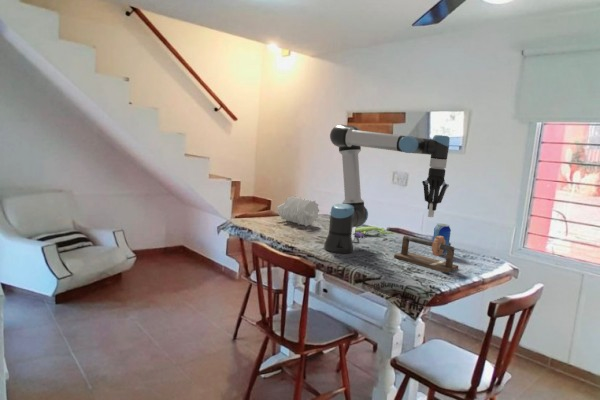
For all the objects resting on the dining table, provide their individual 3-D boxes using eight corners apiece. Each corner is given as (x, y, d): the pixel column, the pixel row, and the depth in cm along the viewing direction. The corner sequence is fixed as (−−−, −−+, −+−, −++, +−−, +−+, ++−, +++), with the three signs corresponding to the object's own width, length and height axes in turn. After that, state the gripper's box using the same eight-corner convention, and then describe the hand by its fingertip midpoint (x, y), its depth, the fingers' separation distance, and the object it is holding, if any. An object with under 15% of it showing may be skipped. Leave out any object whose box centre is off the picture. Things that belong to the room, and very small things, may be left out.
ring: (434, 256, 202) (437, 238, 201) (430, 255, 203) (433, 237, 202) (443, 254, 208) (446, 236, 207) (439, 253, 210) (442, 235, 208)
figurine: (394, 241, 257) (395, 231, 256) (350, 237, 255) (351, 228, 255) (386, 234, 275) (387, 225, 274) (345, 231, 274) (346, 222, 273)
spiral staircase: (289, 225, 295) (316, 231, 277) (272, 216, 282) (299, 221, 265) (298, 201, 299) (325, 205, 281) (282, 190, 286) (309, 194, 269)
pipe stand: (446, 272, 196) (449, 248, 195) (394, 257, 216) (396, 235, 214) (458, 268, 205) (461, 245, 203) (406, 254, 224) (409, 233, 223)
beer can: (439, 256, 227) (443, 226, 225) (427, 251, 235) (431, 223, 232) (450, 255, 231) (454, 226, 229) (439, 251, 239) (443, 223, 236)
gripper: (454, 169, 202) (446, 218, 206) (428, 166, 211) (422, 213, 215) (446, 169, 197) (439, 219, 200) (421, 166, 206) (414, 214, 209)
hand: (430, 216), depth 207 cm, fingers closed
